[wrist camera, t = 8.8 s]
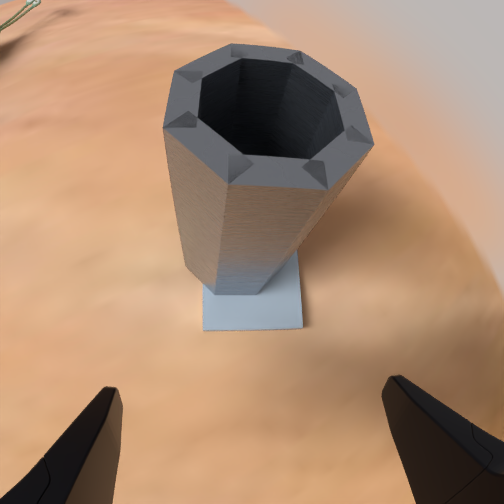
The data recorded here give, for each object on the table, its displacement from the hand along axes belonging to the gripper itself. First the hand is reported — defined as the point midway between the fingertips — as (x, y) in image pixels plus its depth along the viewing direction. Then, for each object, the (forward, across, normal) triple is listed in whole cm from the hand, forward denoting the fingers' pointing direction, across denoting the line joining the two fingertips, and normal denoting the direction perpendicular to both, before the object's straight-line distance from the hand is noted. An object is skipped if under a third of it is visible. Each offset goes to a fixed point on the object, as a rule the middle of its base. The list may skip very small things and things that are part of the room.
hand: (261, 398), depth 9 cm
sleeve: (+12, 0, 0) cm, 12 cm away
